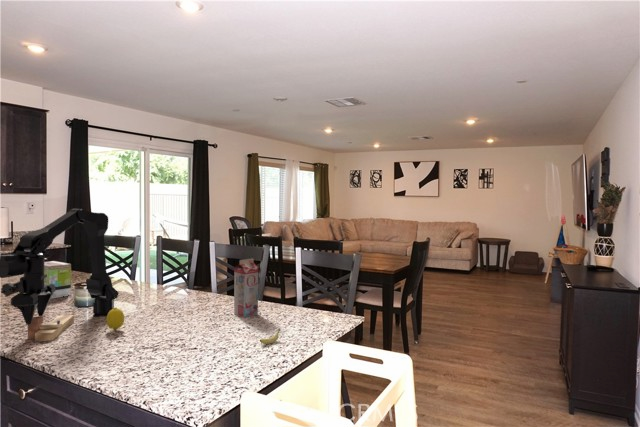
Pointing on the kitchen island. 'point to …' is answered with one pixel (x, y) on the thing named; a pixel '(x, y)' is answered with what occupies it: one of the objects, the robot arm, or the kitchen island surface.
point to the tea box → (58, 277)
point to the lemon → (115, 318)
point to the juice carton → (246, 288)
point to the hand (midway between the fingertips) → (34, 320)
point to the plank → (54, 332)
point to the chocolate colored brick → (40, 326)
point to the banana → (270, 339)
